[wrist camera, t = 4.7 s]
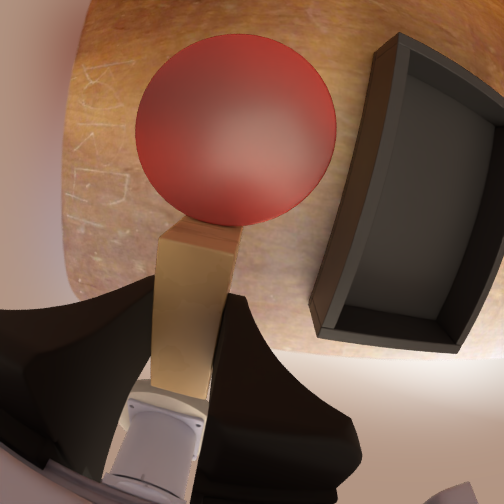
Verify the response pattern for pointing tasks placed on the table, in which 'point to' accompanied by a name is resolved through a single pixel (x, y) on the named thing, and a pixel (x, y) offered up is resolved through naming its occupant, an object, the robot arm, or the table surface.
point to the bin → (416, 208)
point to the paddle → (222, 179)
